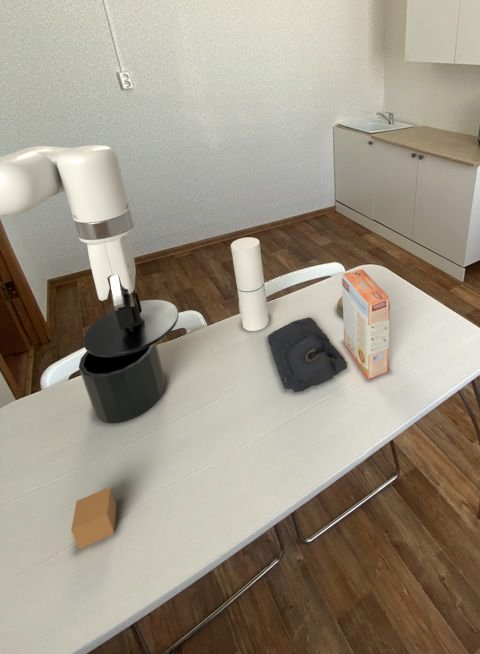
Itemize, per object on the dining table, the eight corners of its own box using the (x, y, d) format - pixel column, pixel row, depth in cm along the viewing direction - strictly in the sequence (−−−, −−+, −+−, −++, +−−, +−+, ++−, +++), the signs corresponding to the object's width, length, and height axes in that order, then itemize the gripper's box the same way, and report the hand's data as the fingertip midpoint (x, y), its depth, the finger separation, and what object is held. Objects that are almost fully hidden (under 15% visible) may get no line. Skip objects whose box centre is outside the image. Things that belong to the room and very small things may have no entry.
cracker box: (390, 372, 90) (391, 297, 83) (367, 381, 88) (366, 304, 80) (364, 335, 102) (363, 267, 95) (343, 342, 99) (340, 273, 92)
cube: (79, 549, 58) (70, 530, 57) (84, 519, 62) (76, 500, 60) (114, 533, 60) (107, 514, 58) (117, 505, 64) (110, 486, 62)
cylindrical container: (237, 329, 105) (225, 248, 96) (250, 313, 112) (240, 236, 103) (261, 333, 104) (250, 251, 95) (273, 316, 110) (264, 238, 101)
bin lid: (78, 372, 59) (65, 337, 56) (91, 319, 71) (81, 288, 68) (181, 341, 65) (174, 308, 62) (177, 297, 77) (170, 268, 75)
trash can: (90, 434, 76) (73, 386, 72) (99, 385, 88) (85, 341, 83) (166, 407, 82) (154, 361, 77) (165, 365, 93) (154, 323, 89)
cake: (331, 317, 110) (329, 301, 109) (346, 298, 119) (345, 283, 117) (362, 324, 106) (360, 307, 104) (376, 304, 114) (374, 288, 113)
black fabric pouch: (318, 319, 108) (317, 305, 107) (350, 373, 90) (350, 357, 88) (264, 336, 102) (262, 322, 100) (287, 398, 84) (285, 381, 82)
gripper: (85, 211, 66) (111, 301, 72) (67, 251, 52) (101, 357, 59) (134, 204, 69) (155, 290, 75) (129, 239, 55) (155, 341, 62)
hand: (131, 319), depth 67 cm, fingers closed on bin lid, 2 cm apart
